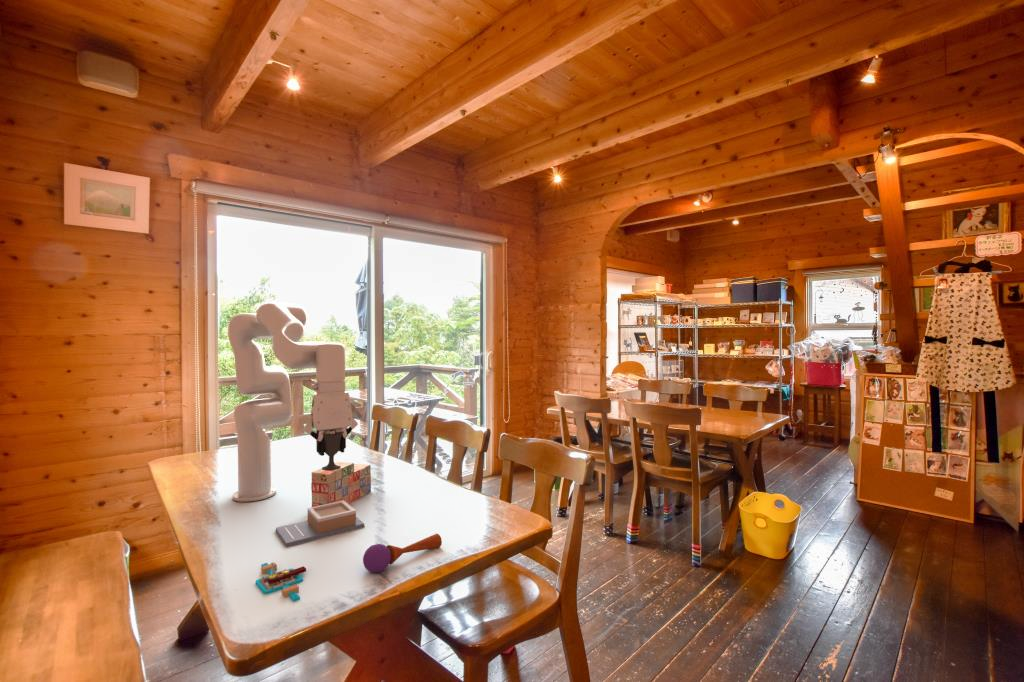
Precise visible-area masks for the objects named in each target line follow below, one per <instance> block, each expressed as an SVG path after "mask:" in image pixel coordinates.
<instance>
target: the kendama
mask: <svg viewBox="0 0 1024 682" xmlns="http://www.w3.org/2000/svg"><path fill="white" fill-rule="evenodd" d="M442 542H443V541H442V537H441V535H440V534H439V533H434V534H431V535H430V536H428V537H426V538H422V539H421V540H418V541H416V542H414V543H411V544H409V545H407V546H405V547H402V548H401V547H398V546H394V545H391V544H387V545H385V544H382V543H376V544H373V545H370V546H369V547H368V548H367V549H366V550H365V552H364V554H363V556H362V563H363V566H364V568H365V570H367V571H368V572H369V573H372V574H378V573H382V572H384V571H386V569H387V567H389V565H392V564H394V563H395V562H396V561H397V560H398V559H399V558H400V557H401V556H402V555H403V554H408V553H412V552H413V553H414V552H420V551H426V550H431V549H437V548H441V546H442V544H443V543H442Z"/></svg>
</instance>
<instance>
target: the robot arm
mask: <svg viewBox="0 0 1024 682" xmlns="http://www.w3.org/2000/svg"><path fill="white" fill-rule="evenodd" d="M307 320H308V316H307V312H306V310H305V308H304V307H303V306H301V304H297V303H294V302H293V303H292V302H291V303H290V302H266V303H263V304H261V305H260V306H259V307H258V308H257V310H256V313H254V312H253V313H252V312H251V313H249V312H248V313H247V312H246V313H238V314H235V315H233V316H232V317H231V318H230V319H229V322H228V324H227V336H228V337H227V338H228V340H229V344H230V346H231V349H232V352H233V357H234V365H235V377H236V386H237V391H238V393H239V394H240V395H241V396H244V397H245V396H246V397H251V396H263V395H264V396H265V395H271V397H269V398H260V399H259V398H257V399H250V400H245V401H243V402H240V403H238V404H237V405H236V407H235V408H234V411H233V419H234V424H235V429H236V439H237V484H238V485H237V486H238V487H237V491H235V492H234V493H233V494H232V499H233V500H234V501H236V502H241V503H242V502H243V503H246V502H247V503H249V502H257V501H261V500H265V499H268V498H271V497H273V496H274V495H275V494H277V488H276V487H275V486H272V468H271V467H272V462H271V460H272V459H271V458H272V456H271V454H272V453H271V451H272V448H271V444H272V443H271V439H270V437H269V435H268V434H267V433H266V432H265V430H264V428H268V427H269V428H270V427H275V426H280V425H285V424H287V423H289V422H290V420H291V418H292V416H293V405H292V403H293V402H292V393H291V390H292V389H291V380H290V377H289V373H288V372H287V370H286V369H285V368H286V367H287V369H291V370H306V369H307V370H308V369H315V383H313V384H310V390H311V391H312V390H315V392H314V393H313V397H312V401H311V402H312V403H311V407H310V409H311V411H310V419H309V420H308V422H307V423H306V425H304V427H303V429H302V430H303V432H305V433H306V434H308V435H310V436H311V437H312V438H313V439H314V440H316V444H315V445H316V452H317V453H318V455H319V456H321V457H322V456H325V452H324V441H323V434H324V431H325V430H333V429H341V428H342V432H344V433H343V434H342V436H341V442H340V448H339V451H338V452H341V453H345V449H346V448H347V438H348V436H349V435H350V433H351V432H352V431H353V430H354V429H355V428H356V427H358V424H359V423H358V422H357V420H355V418H354V417H353V414H352V412H353V411H352V406H351V397H350V394H349V391H346V347H345V345H344V343H341V342H327V341H300V340H301V339H302V338H303V336H304V331H305V325H306V323H307ZM254 340H272V343H271V344H272V350H273V354H274V356H275V358H276V359H277V360H278V361H279V362H280V363H281V364H282V365H283V366H285V368H284V367H282V366H280V365H266V363H265V356H264V351H263V349H262V348H261V346H260V345H259V344H258V343H257V342H255V341H254ZM313 429H314V430H316V431H314V430H313ZM318 433H319V434H318Z"/></svg>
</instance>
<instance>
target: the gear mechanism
mask: <svg viewBox="0 0 1024 682" xmlns="http://www.w3.org/2000/svg"><path fill="white" fill-rule="evenodd" d="M260 569H261V570H260V571H261V572H260V573H261V574H262V575H265V576H263V577H261V578H258V579H256V580H255V585H256V587H257V588H258V589H259V590H260V591H261V593H262V594H263V595H269V594H272V593H275V592H278V591H280V590H281V596H282V597H283V598H284V599H285V598H289V599H291V600H292V602H293V603H295V602H297V601H301V597H300V596H299V593H300V586H299V585H298V584H300V583H302V582H303V581H304V578H303V576H302V575H301V574H303V573H306V572H307V568H306V567H305V566H304V565H303V566H301V567H296V568H288V569H284V570H280V571H278V564H277V563H276V562H274V561H271V563H270V564H269V563H268V562H264V563H261V568H260ZM277 571H278V572H277ZM266 574H267V575H266ZM294 577H295V578H294ZM266 583H268V585H267V584H266Z"/></svg>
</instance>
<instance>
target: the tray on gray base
mask: <svg viewBox="0 0 1024 682" xmlns="http://www.w3.org/2000/svg"><path fill="white" fill-rule="evenodd" d="M362 528H365V523H364V522H363V521H362V520H361V519H360V518H359V517H358V516H357V510H356V509H355V508H353V506H351V505H350V503H348V504H347V503H346V502H345V501H344V500H343V501H338V502H334V503H329V504H324V505H320V506H315V507H312V506H311V507H308V508H307V520H303V521H302V520H301V521H299V522H294V523H290V524H287V525H286V524H285V525H281V526H277V527H275V533H276V534H277V536H278V537H279V538H280V539H281V542H282V543H283V544H284V546H285V547H286V548H288V547H293V546H296V545H300V544H305V543H308V542H312V541H316V540H319V539H324V538H327V537H332V536H335V535H339V534H343V533H347V532H351V531H354V530H359V529H362Z"/></svg>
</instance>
